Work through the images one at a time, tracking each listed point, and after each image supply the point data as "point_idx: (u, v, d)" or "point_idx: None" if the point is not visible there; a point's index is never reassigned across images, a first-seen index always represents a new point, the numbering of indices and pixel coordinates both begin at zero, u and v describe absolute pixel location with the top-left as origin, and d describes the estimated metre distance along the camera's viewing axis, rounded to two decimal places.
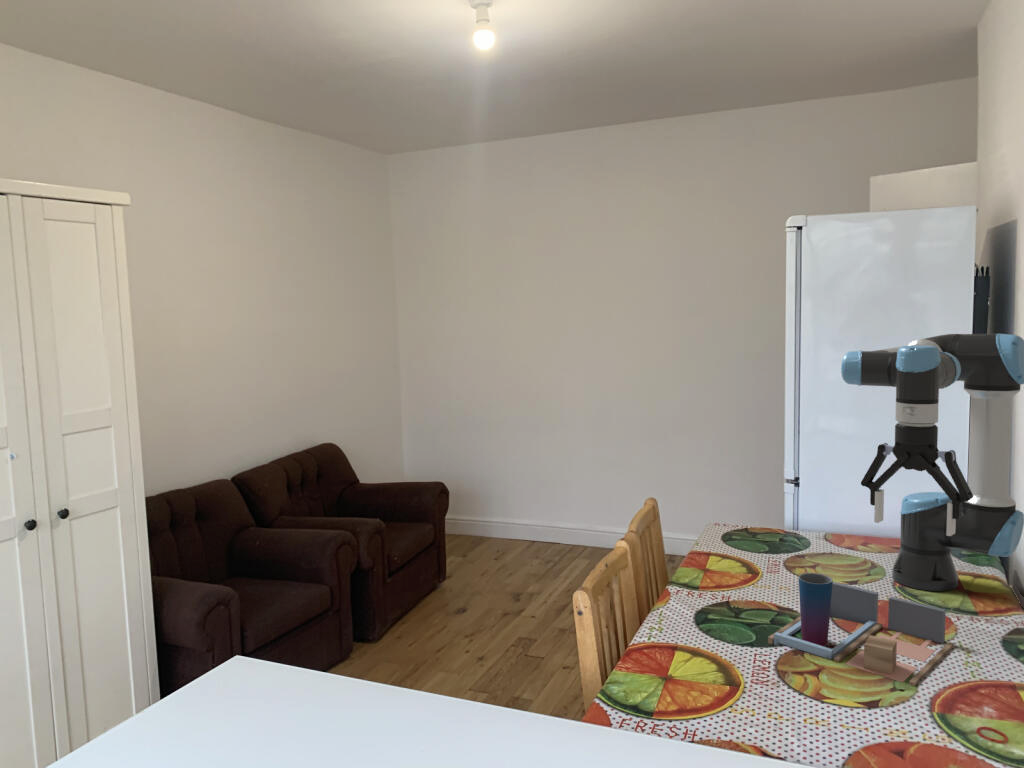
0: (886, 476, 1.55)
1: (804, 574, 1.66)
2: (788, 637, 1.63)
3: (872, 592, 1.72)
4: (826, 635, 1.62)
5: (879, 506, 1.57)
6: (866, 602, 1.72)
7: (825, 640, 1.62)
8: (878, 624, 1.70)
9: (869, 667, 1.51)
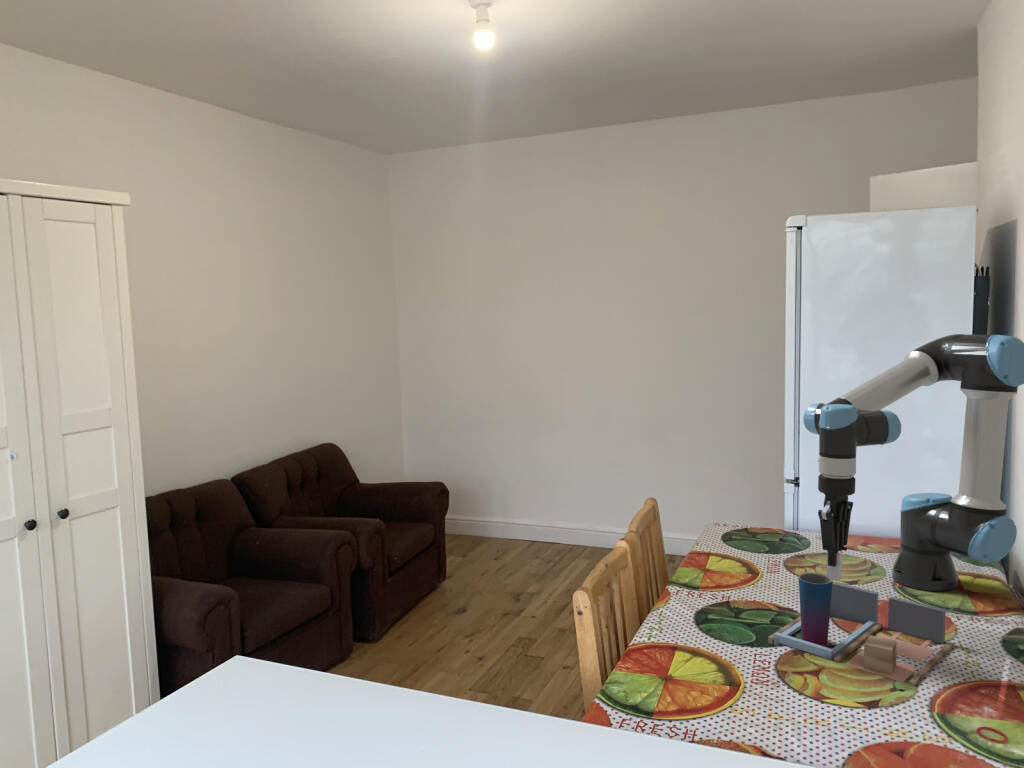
0: None
1: (804, 574, 1.66)
2: (788, 637, 1.63)
3: (872, 592, 1.72)
4: (826, 635, 1.62)
5: None
6: (866, 602, 1.72)
7: (825, 640, 1.62)
8: (878, 624, 1.70)
9: (869, 667, 1.51)
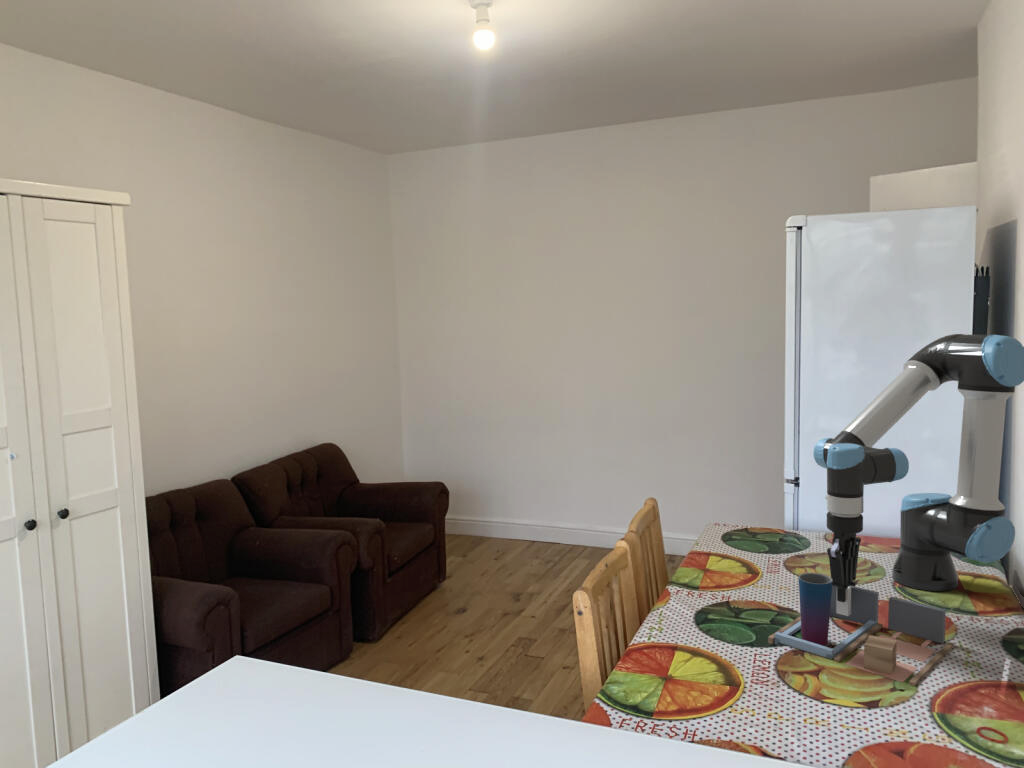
0: None
1: (804, 574, 1.66)
2: (788, 636, 1.63)
3: (872, 592, 1.72)
4: (826, 635, 1.62)
5: None
6: (867, 602, 1.72)
7: (825, 640, 1.62)
8: (878, 624, 1.70)
9: (869, 667, 1.51)
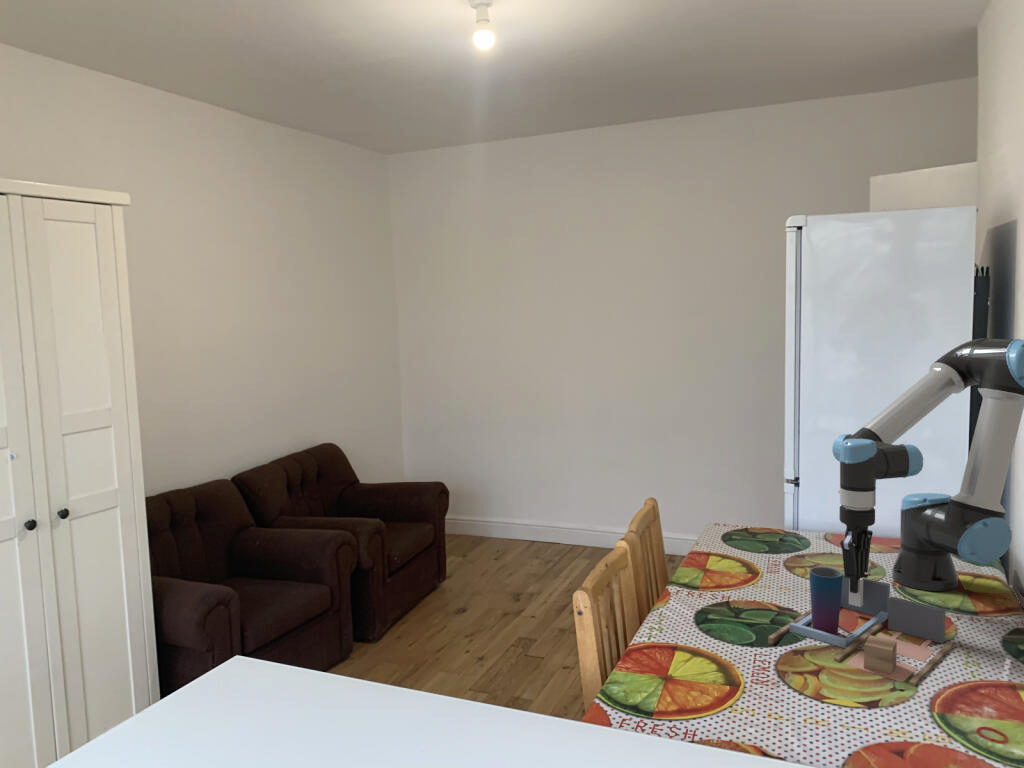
0: None
1: (814, 568, 1.69)
2: (803, 626, 1.67)
3: (884, 584, 1.76)
4: (836, 627, 1.66)
5: None
6: (878, 593, 1.77)
7: (835, 632, 1.66)
8: (878, 624, 1.70)
9: (869, 667, 1.51)
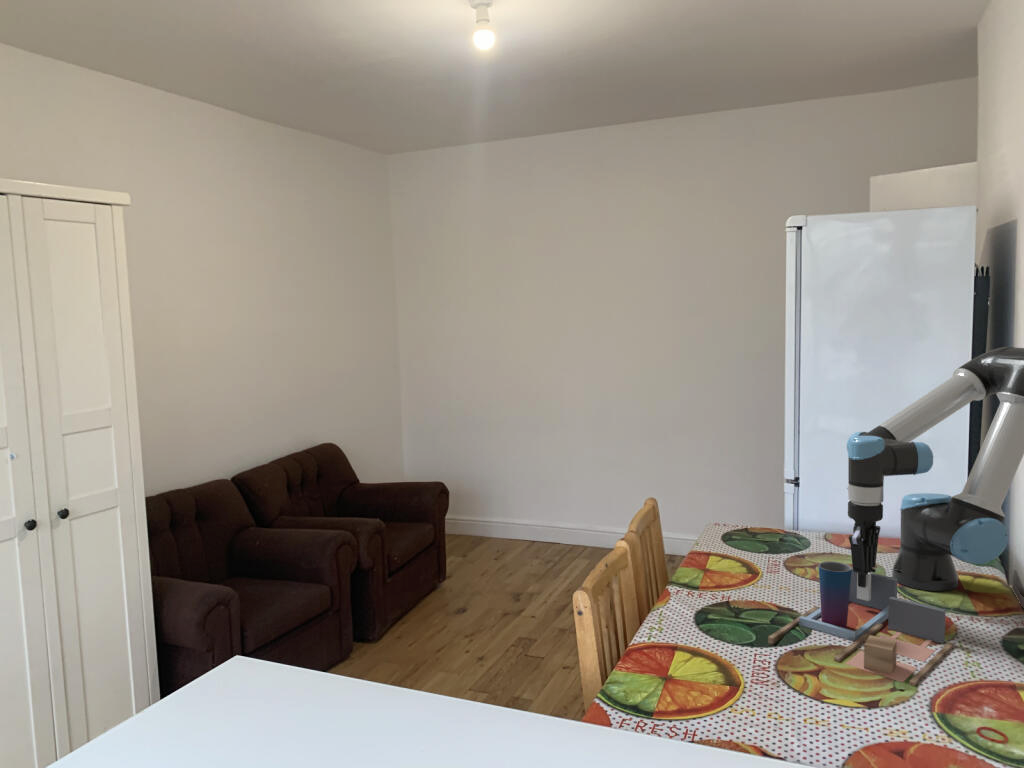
0: None
1: (824, 563, 1.72)
2: (812, 620, 1.71)
3: (892, 578, 1.80)
4: (845, 621, 1.69)
5: None
6: (886, 588, 1.80)
7: (844, 626, 1.69)
8: (878, 624, 1.70)
9: (869, 667, 1.51)
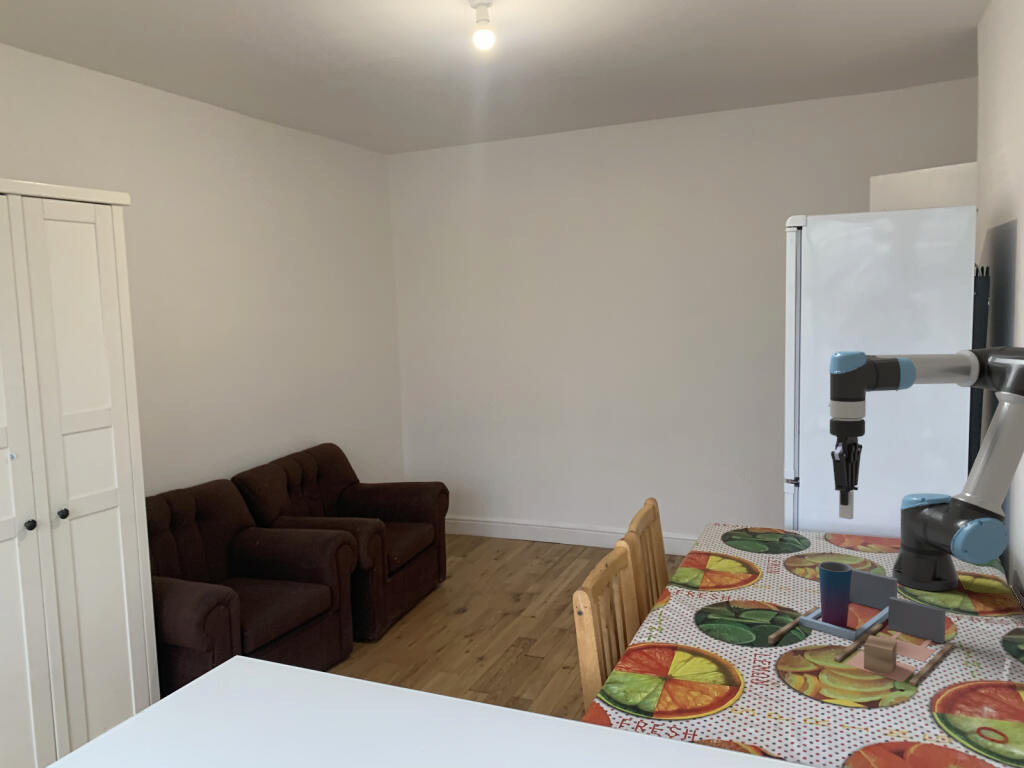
0: None
1: (824, 563, 1.72)
2: (812, 620, 1.71)
3: (892, 578, 1.80)
4: (845, 621, 1.69)
5: None
6: (886, 588, 1.80)
7: (845, 626, 1.69)
8: (878, 624, 1.70)
9: (869, 667, 1.51)
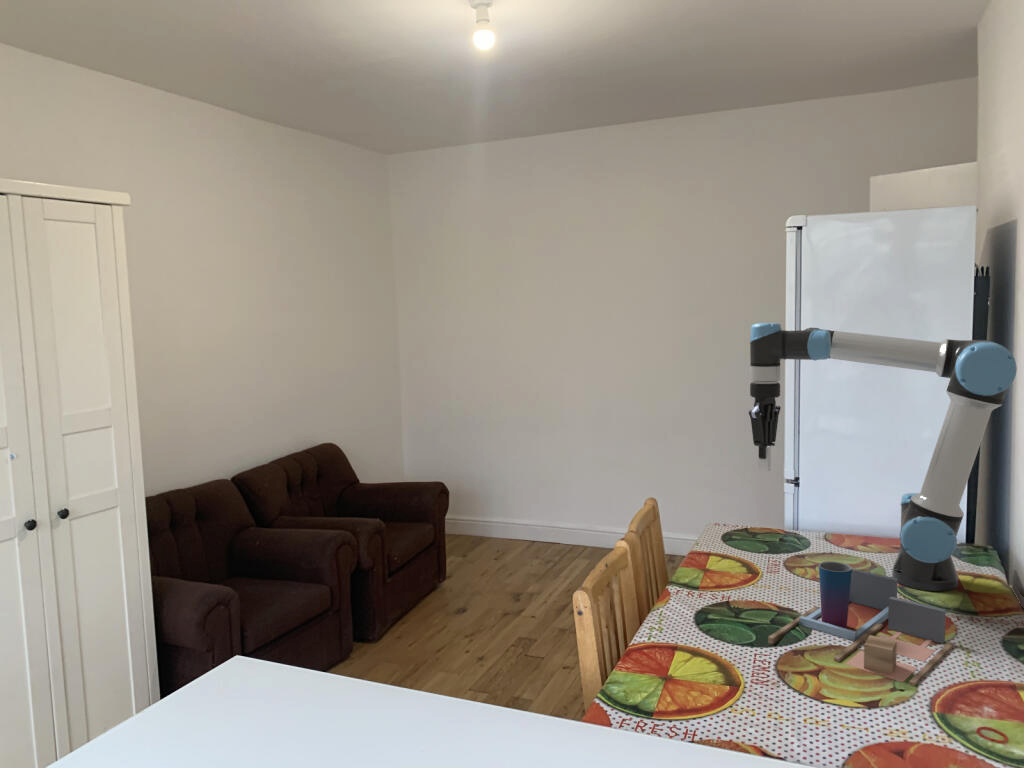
0: None
1: (824, 563, 1.72)
2: (812, 620, 1.71)
3: (892, 578, 1.80)
4: (845, 621, 1.69)
5: None
6: (886, 588, 1.80)
7: (845, 626, 1.69)
8: (878, 624, 1.70)
9: (869, 667, 1.51)
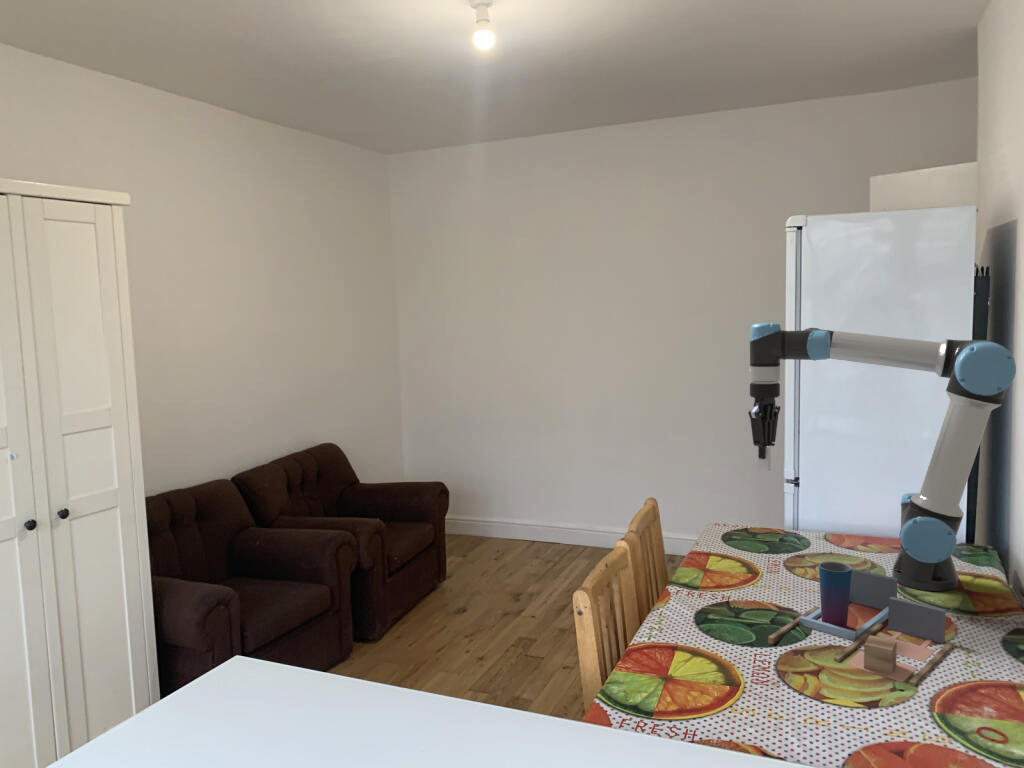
0: None
1: (824, 563, 1.72)
2: (812, 620, 1.71)
3: (892, 578, 1.80)
4: (845, 621, 1.69)
5: None
6: (886, 588, 1.80)
7: (845, 626, 1.69)
8: (878, 624, 1.70)
9: (869, 667, 1.51)
